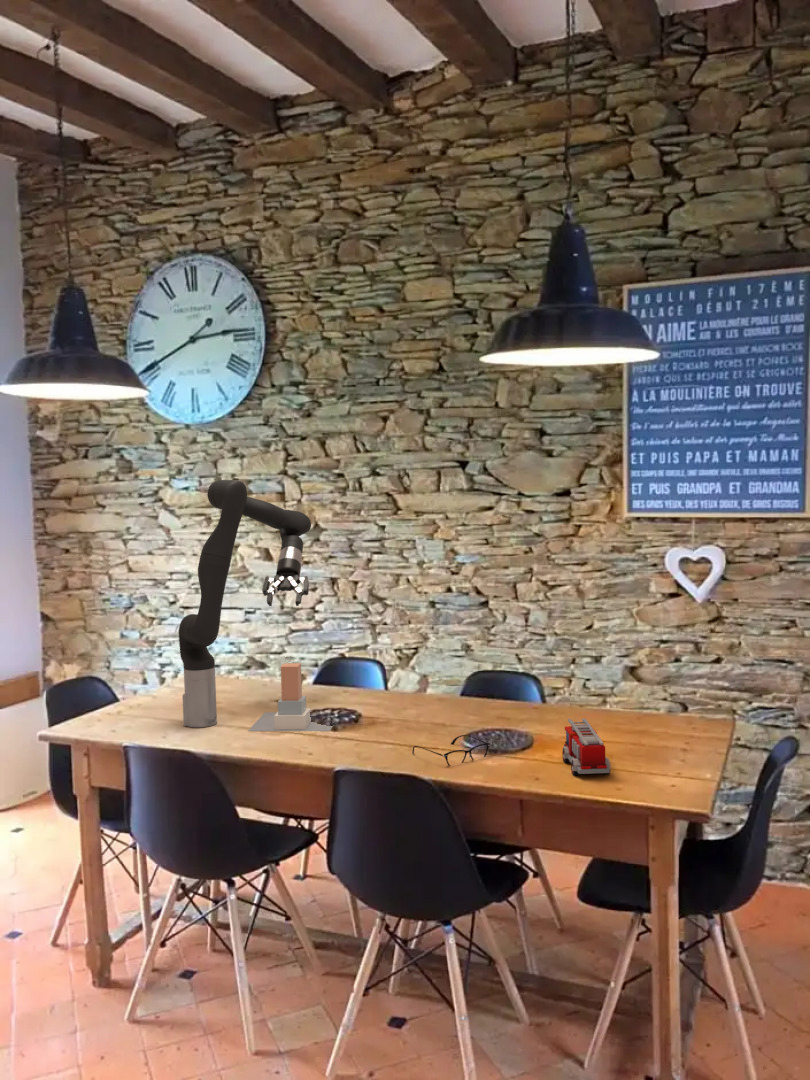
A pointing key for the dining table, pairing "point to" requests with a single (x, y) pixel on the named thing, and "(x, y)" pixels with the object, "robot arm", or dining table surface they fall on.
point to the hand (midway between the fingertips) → (283, 604)
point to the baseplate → (268, 725)
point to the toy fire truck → (584, 750)
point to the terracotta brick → (291, 681)
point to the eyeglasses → (459, 750)
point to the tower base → (292, 715)
